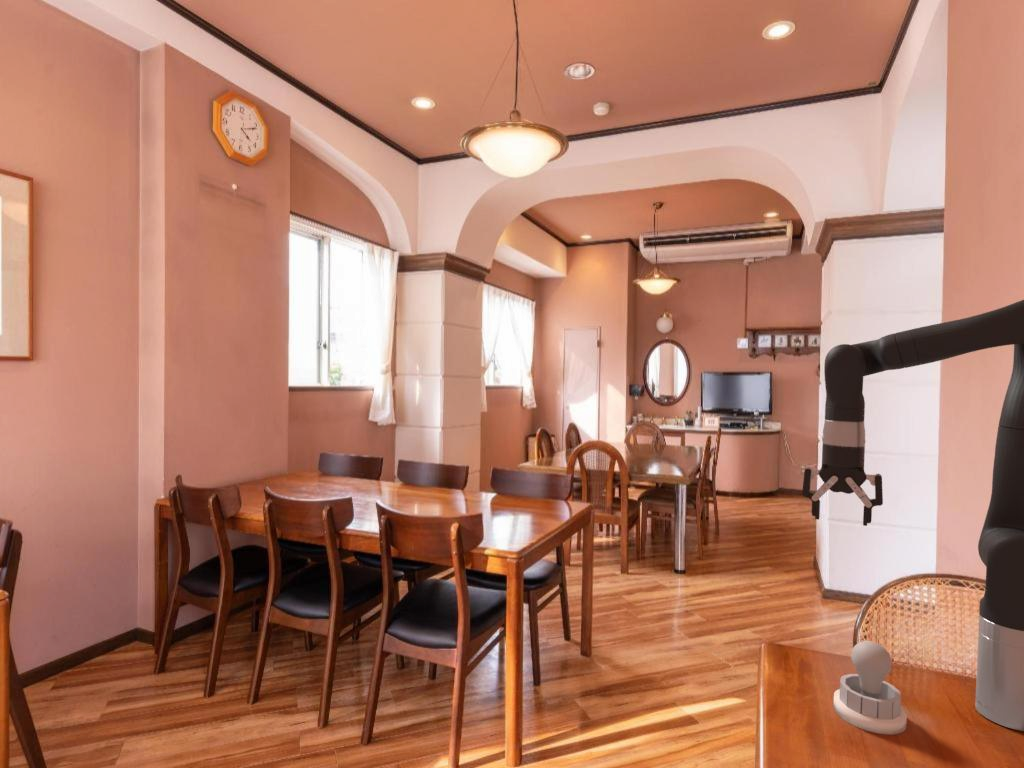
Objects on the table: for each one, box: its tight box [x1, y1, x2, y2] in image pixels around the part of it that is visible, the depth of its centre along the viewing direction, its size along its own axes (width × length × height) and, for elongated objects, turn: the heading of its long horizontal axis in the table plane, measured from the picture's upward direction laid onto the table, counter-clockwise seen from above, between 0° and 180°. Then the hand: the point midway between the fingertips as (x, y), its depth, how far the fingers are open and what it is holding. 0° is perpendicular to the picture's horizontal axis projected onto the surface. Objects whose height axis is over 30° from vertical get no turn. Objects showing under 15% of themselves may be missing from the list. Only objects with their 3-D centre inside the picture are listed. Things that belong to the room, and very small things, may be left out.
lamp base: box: [832, 673, 908, 736], centre depth 104 cm, size 11×11×5 cm
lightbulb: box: [850, 640, 893, 699], centre depth 103 cm, size 6×6×11 cm
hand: (840, 521), depth 120 cm, fingers open, 8 cm apart
